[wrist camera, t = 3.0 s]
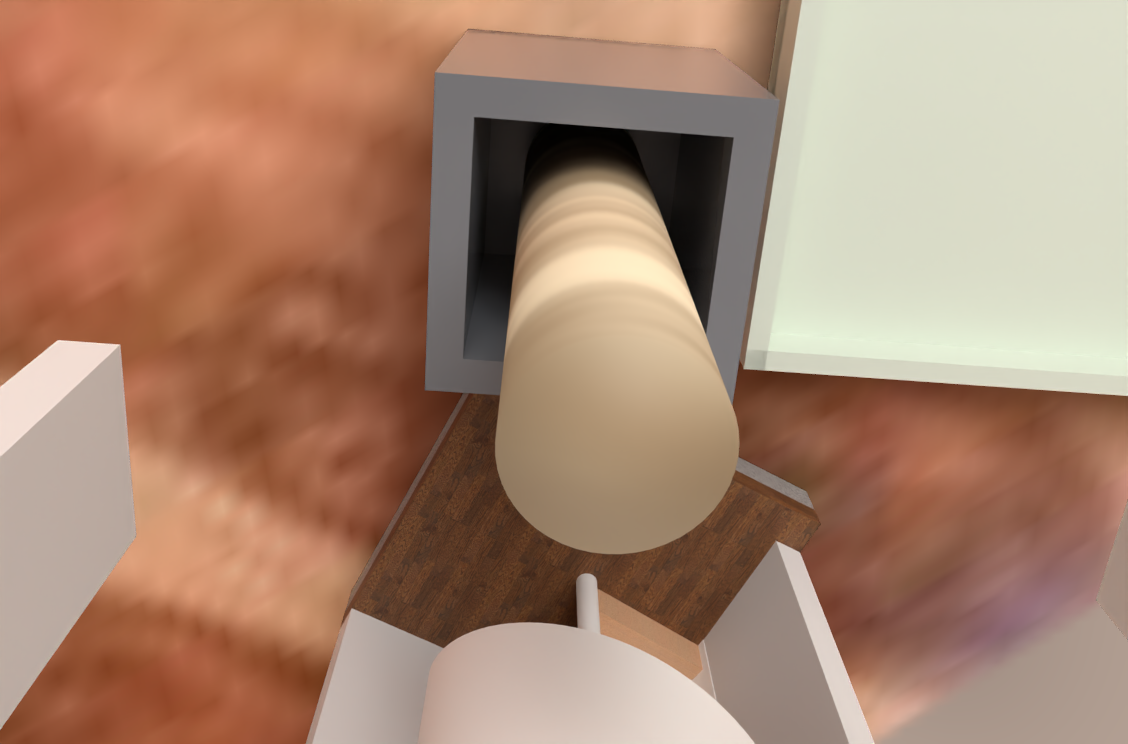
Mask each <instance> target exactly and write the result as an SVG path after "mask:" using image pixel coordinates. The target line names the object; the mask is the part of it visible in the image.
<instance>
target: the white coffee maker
mask: <svg viewBox="0 0 1128 744" xmlns="http://www.w3.org/2000/svg"><path fill="white" fill-rule="evenodd" d="M499 402H500V395H489V394H475V393H463V395H462V396H461V398H460V400H459V402H458V403H457V405H456V407H455V409H454V410H453V412H452V414H451V416H450V418H449V419H448V421H447V423H446V425H445V426H444V428H443V430H442V432H441V434H440V435H439V437H438V439H437V441H436V442H435V444H434V446H433V448H432V449H431V451H430V453H429V455H428V457H427V458H426V460H425V462H424V464H423V465H422V467H421V469H420V471H419V472H418V474H417V476H416V478H415V480H414V481H413V483H412V485H411V487H410V488H409V490H408V492H407V494H406V496H405V497H404V499H403V501H402V503H401V504H400V506H399V508H398V510H397V511H396V513H395V515H394V517H393V519H392V520H391V522H390V524H389V526H388V527H387V529H386V531H385V533H384V534H383V536H382V538H381V540H380V542H379V543H378V545H377V547H376V549H375V550H374V552H373V554H372V556H371V558H370V559H369V561H368V563H367V565H366V566H365V568H364V570H363V572H362V573H361V575H360V577H359V579H358V581H357V582H356V584H355V586H354V588H353V589H352V591H351V594H350V598H349V601H348V604H347V608H346V611H345V614H344V618H343V621H342V624H341V628H340V631H339V634H338V638H337V641H336V644H335V648H334V651H333V654H332V658H331V661H330V664H329V668H328V671H327V674H326V678H325V681H324V684H323V688H322V691H321V694H320V698H319V701H318V704H317V708H316V711H315V714H314V718H313V721H312V724H311V728H310V731H309V734H308V738H307V741H306V744H875V743H874V741H873V738H872V736H871V733H870V731H869V728H868V725H867V723H866V720H865V718H864V715H863V713H862V710H861V708H860V705H859V702H858V700H857V697H856V695H855V692H854V690H853V687H852V685H851V682H850V679H849V677H848V674H847V672H846V669H845V667H844V664H843V662H842V659H841V656H840V654H839V651H838V649H837V646H836V644H835V641H834V639H833V636H832V633H831V631H830V628H829V626H828V623H827V621H826V618H825V616H824V613H823V610H822V608H821V605H820V603H819V600H818V598H817V595H816V593H815V590H814V587H813V585H812V582H811V580H810V577H809V575H808V572H807V570H806V567H805V564H804V562H803V559H802V557H801V554H800V552H801V550H802V549H803V548H804V546H805V545H806V543H807V542H808V541H809V539H810V538H811V537H812V535H813V534H814V533H815V531H816V530H817V529H818V527H819V526H820V525H821V523H820V521H819V519H818V517H817V514H816V512H815V510H814V508H813V505H812V503H811V501H810V499H809V496H808V494H807V492H806V491H804V490H802V489H800V488H798V487H796V486H794V485H792V484H791V483H789V482H787V481H785V480H783V479H781V478H779V477H777V476H775V475H773V474H771V473H769V472H767V471H765V470H763V469H761V468H759V467H757V466H755V465H753V464H751V463H749V462H747V461H745V460H743V459H741V458H739V457H738V461H737V465H736V469H735V473H734V476H733V478H732V481H731V483H730V486H729V487H728V489H727V491H726V493H725V495H724V496H723V498H722V500H721V501H720V502H719V504H718V505H717V506H716V508H715V509H714V510H713V511H712V512H711V513H710V514H709V515H708V516H707V517H706V518H705V519H704V521H702V522H701V523H700V524H699V525H697V526H696V527H695V528H694V529H692V530H691V531H689V532H688V533H686V534H685V535H683V536H681V537H680V538H678V539H676V540H674V541H671V542H669V543H667V544H665V545H662V546H659V547H656V548H653V549H650V550H645V551H641V552H636V553H627V554H601V553H592V552H587V551H583V550H579V549H575V548H572V547H570V546H567V545H564V544H561V543H559V542H557V541H556V540H554V539H552V538H550V537H548V536H546V535H545V534H543V533H542V532H540V531H539V530H537V529H536V528H535V527H534V526H533V525H531V524H530V523H529V522H528V521H527V520H526V519H525V518H524V517H523V516H522V515H521V514H520V513H519V511H518V510H517V509H516V508H515V506H514V505H513V503H512V502H511V500H510V499H509V497H508V496H507V494H506V491H505V489H504V487H503V485H502V483H501V480H500V476H499V473H498V470H497V464H496V457H495V438H496V429H497V420H498V411H499Z"/></svg>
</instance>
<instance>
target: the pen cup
mask: <svg viewBox="0 0 1128 744" xmlns="http://www.w3.org/2000/svg"><path fill="white" fill-rule="evenodd" d="M779 101H780V100H779V99H778V98H777V97H775V96H774V95H773V94H772V93H770V92H769V91H768V90H767V89H765V88H764V87H763V86H761V85H760V84H759V83H758V82H756V81H755V80H754V79H753V78H751V77H750V76H749V75H748V74H746V73H745V72H744V71H742V70H741V69H740V68H739V67H737V66H736V65H735V64H734V63H732V62H731V61H730V60H728V59H727V58H726V57H725V56H723V55H722V54H721V53H720V52H718V51H717V50H716V49H707V48H695V47H682V46H670V45H658V44H646V43H634V42H622V41H609V40H597V39H585V38H573V37H561V36H549V35H536V34H524V33H512V32H500V31H488V30H476V29H468V30H467V31H466V33H465V34H464V35H463V36H462V38H461V39H460V40H459V42H458V43H457V44H456V46H455V47H454V48H453V49H452V51H451V52H450V53H449V55H448V56H447V57H446V58H445V60H444V61H443V62H442V64H441V65H440V66H439V68H438V69H437V70H436V71H435V87H434V118H433V150H432V181H431V213H430V244H429V276H428V307H427V338H426V370H425V390H431V391H445V392H460V393H475V394H489V395H500V392H501V383H502V374H503V365H504V356H505V347H506V337H507V328H508V319H509V310H510V301H511V291H512V282H513V273H514V264H515V255H516V246H517V236H518V227H519V218H520V209H521V200H522V190H523V181H524V172H525V163H526V157H527V153H528V150H529V148H530V145H531V143H532V141H533V140H534V138H535V136H536V135H537V134H538V133H539V131H540V130H541V129H542V128H543V127H544V126H545V125H547V124H548V123H558V124H571V125H583V126H596V127H609V128H621V129H625V130H626V131H627V132H628V134H629V135H630V137H631V138H632V140H633V142H634V143H635V145H636V148H637V151H638V154H639V156H640V159H641V162H642V164H643V167H644V170H645V172H646V175H647V178H648V181H649V183H650V186H651V189H652V191H653V194H654V197H655V199H656V202H657V205H658V207H659V210H660V213H661V216H662V218H663V221H664V224H665V226H666V229H667V232H668V234H669V237H670V240H671V243H672V245H673V248H674V251H675V253H676V256H677V259H678V261H679V264H680V267H681V269H682V272H683V275H684V278H685V280H686V283H687V286H688V288H689V291H690V294H691V296H692V299H693V302H694V305H695V307H696V310H697V313H698V315H699V318H700V321H701V323H702V326H703V329H704V332H705V334H706V337H707V340H708V342H709V345H710V348H711V350H712V353H713V356H714V358H715V361H716V364H717V367H718V369H719V372H720V375H721V377H722V380H723V383H724V385H725V388H726V391H727V394H728V396H729V399H730V402H731V404H733V397H734V391H735V385H736V378H737V372H738V365H739V359H740V352H741V346H742V340H743V333H744V327H745V320H746V314H747V307H748V301H749V294H750V288H751V282H752V275H753V269H754V262H755V256H756V249H757V243H758V237H759V230H760V224H761V217H762V211H763V204H764V198H765V191H766V185H767V179H768V172H769V166H770V159H771V153H772V146H773V140H774V134H775V127H776V121H777V114H778V108H779Z"/></svg>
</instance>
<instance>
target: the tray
mask: <svg viewBox="0 0 1128 744" xmlns="http://www.w3.org/2000/svg"><path fill="white" fill-rule="evenodd" d="M768 91H769V92H770V93H772V94H773V95H774V96H775V97H777V98H778V99H779V100H780V101H779V108H778V114H777V121H776V127H775V134H774V140H773V146H772V153H771V159H770V166H769V172H768V179H767V185H766V191H765V198H764V204H763V211H762V217H761V224H760V230H759V237H758V243H757V249H756V256H755V262H754V269H753V275H752V282H751V288H750V294H749V301H748V307H747V314H746V320H745V327H744V333H743V340H742V346H741V352H740V361H741V364H742V366H743V368H744V369H751V370H765V371H780V372H794V373H808V374H822V375H837V376H851V377H865V378H880V379H894V380H908V381H922V382H937V383H951V384H965V385H979V386H994V387H1008V388H1022V389H1036V390H1051V391H1065V392H1079V393H1094V394H1108V395H1122V396H1128V0H781V4H780V10H779V17H778V24H777V30H776V37H775V44H774V50H773V57H772V64H771V70H770V77H769V84H768Z"/></svg>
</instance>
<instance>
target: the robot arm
mask: <svg viewBox="0 0 1128 744" xmlns="http://www.w3.org/2000/svg"><path fill="white" fill-rule="evenodd" d="M135 537H136V526H135V514H134V502H133V490H132V478H131V467H130V455H129V443H128V431H127V419H126V407H125V396H124V384H123V372H122V360H121V348H120V345H117V344H103V343H90V342H76V341H62V340H57V341H56V342H55V343H54V344H53V345H51V346H50V347H49V348H48V349H46V350H45V351H44V352H43V353H41V354H40V355H39V356H38V357H37V358H35V359H34V360H33V361H32V362H30V363H29V364H28V365H27V366H25V367H24V368H23V369H22V370H21V371H19V372H18V373H17V374H16V375H14V376H13V377H12V378H11V379H9V380H8V381H7V382H6V383H4V384H3V385H2V386H1V387H0V729H1V728H2V727H3V725H4V724H5V722H6V721H7V719H8V718H9V717H10V715H11V714H12V712H13V711H14V710H15V708H16V707H17V705H18V704H19V702H20V701H21V700H22V698H23V697H24V695H25V694H26V692H27V691H28V690H29V688H30V687H31V685H32V684H33V682H34V681H35V680H36V678H37V677H38V675H39V674H40V673H41V671H42V670H43V668H44V667H45V665H46V664H47V663H48V661H49V660H50V658H51V657H52V655H53V654H54V653H55V651H56V650H57V648H58V647H59V645H60V644H61V643H62V641H63V640H64V638H65V637H66V636H67V634H68V633H69V631H70V630H71V628H72V627H73V626H74V624H75V623H76V621H77V620H78V618H79V617H80V616H81V614H82V613H83V611H84V610H85V608H86V607H87V606H88V604H89V603H90V601H91V600H92V599H93V597H94V596H95V594H96V593H97V591H98V590H99V589H100V587H101V586H102V584H103V583H104V581H105V580H106V579H107V577H108V576H109V574H110V573H111V572H112V570H113V569H114V567H115V566H116V564H117V563H118V562H119V560H120V559H121V557H122V556H123V554H124V553H125V552H126V550H127V549H128V547H129V546H130V544H131V543H132V542H133V540H134V539H135ZM1096 601H1097V602H1098V604H1099V605H1100V606H1101V607H1102V609H1103V610H1104V611H1105V612H1106V614H1107V615H1108V616H1109V617H1110V619H1111V620H1112V621H1113V622H1114V624H1115V625H1116V626H1117V627H1118V629H1119V630H1120V631H1121V632H1122V634H1123V635H1124V636H1125V637H1126V639H1127V640H1128V501H1127V504H1126V507H1125V510H1124V514H1123V517H1122V520H1121V523H1120V526H1119V529H1118V532H1117V535H1116V539H1115V542H1114V545H1113V548H1112V551H1111V554H1110V557H1109V560H1108V564H1107V567H1106V570H1105V573H1104V576H1103V579H1102V582H1101V585H1100V589H1099V592H1098V595H1097V598H1096Z"/></svg>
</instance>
